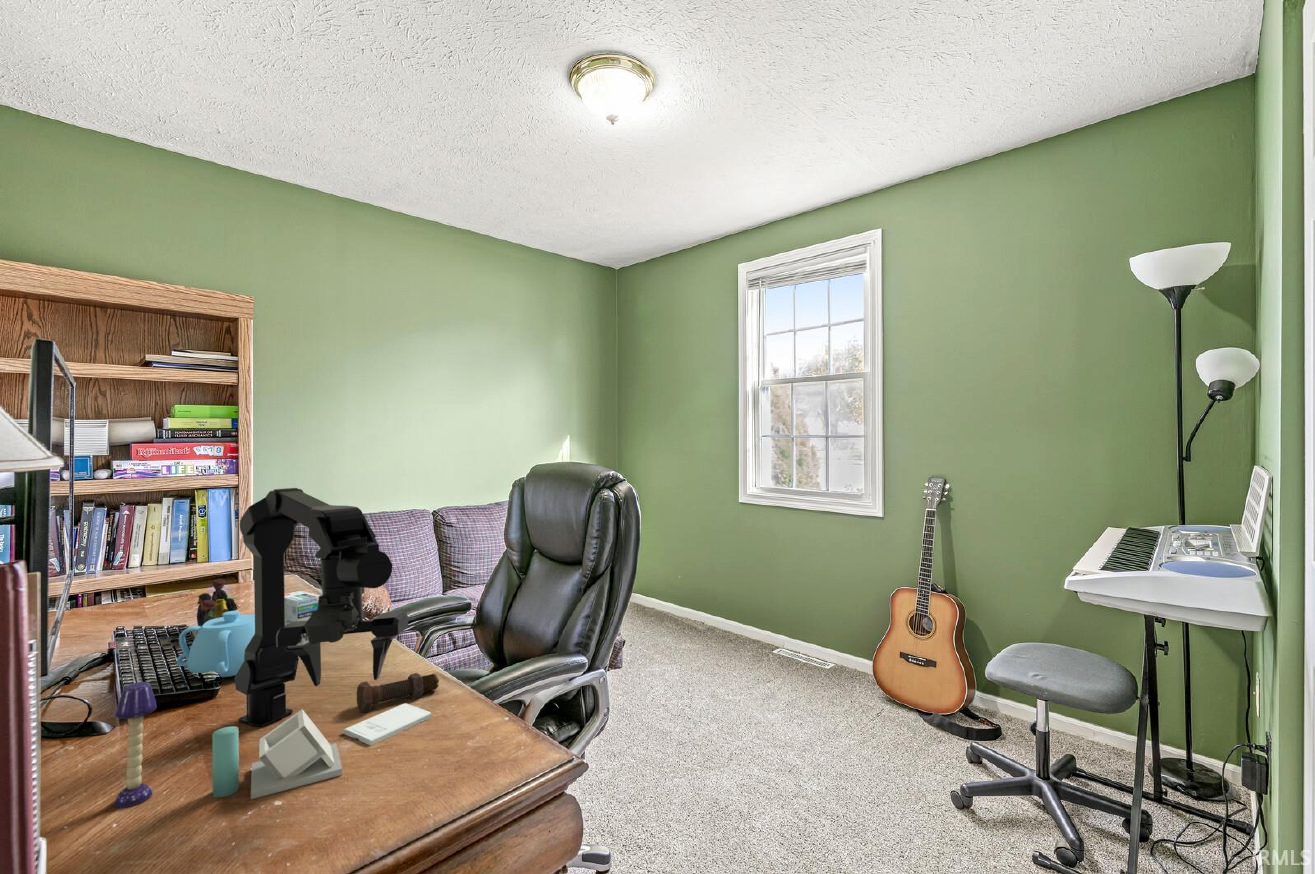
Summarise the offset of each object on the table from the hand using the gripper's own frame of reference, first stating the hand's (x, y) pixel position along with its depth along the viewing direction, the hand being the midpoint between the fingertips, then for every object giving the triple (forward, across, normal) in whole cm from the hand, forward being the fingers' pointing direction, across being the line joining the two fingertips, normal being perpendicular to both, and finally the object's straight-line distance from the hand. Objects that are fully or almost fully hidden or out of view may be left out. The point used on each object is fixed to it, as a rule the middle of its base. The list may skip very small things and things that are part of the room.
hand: (347, 682), depth 100 cm
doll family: (+5, -65, +73) cm, 98 cm away
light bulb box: (+7, -41, +69) cm, 81 cm away
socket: (+13, -8, -1) cm, 15 cm away
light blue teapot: (+8, -44, +44) cm, 62 cm away
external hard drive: (+14, +1, +14) cm, 20 cm away
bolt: (+12, -1, +25) cm, 28 cm away
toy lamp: (+12, -28, -6) cm, 31 cm away
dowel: (+13, -16, -5) cm, 21 cm away
